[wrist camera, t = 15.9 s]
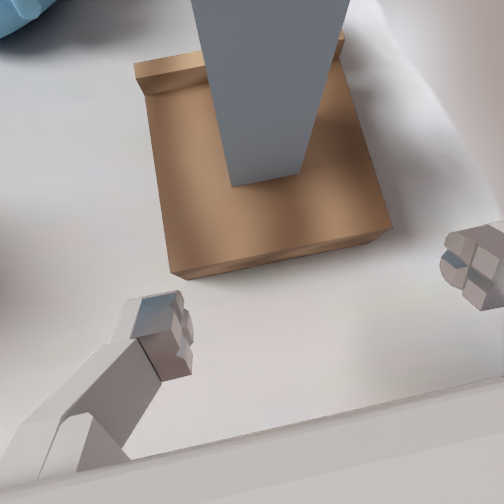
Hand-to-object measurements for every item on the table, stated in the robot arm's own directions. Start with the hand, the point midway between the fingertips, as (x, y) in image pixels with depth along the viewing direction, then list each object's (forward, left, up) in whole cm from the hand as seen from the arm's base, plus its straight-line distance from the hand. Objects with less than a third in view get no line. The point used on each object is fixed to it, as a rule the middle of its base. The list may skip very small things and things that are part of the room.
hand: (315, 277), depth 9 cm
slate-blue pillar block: (0, +10, -9) cm, 13 cm away
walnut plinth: (0, +10, -13) cm, 16 cm away
